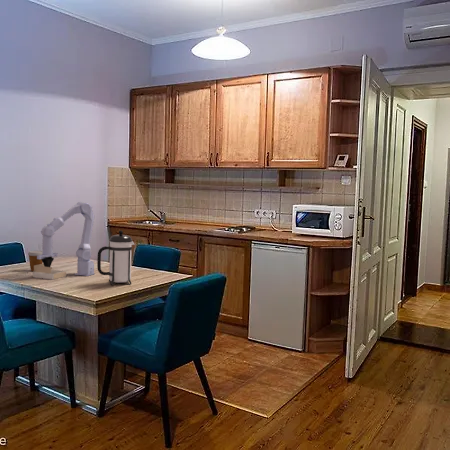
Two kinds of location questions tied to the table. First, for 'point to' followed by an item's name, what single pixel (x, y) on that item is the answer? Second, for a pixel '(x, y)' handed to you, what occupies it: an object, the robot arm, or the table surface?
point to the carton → (50, 274)
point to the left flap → (44, 269)
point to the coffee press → (118, 259)
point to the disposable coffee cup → (34, 259)
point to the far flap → (37, 266)
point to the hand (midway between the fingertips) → (47, 270)
